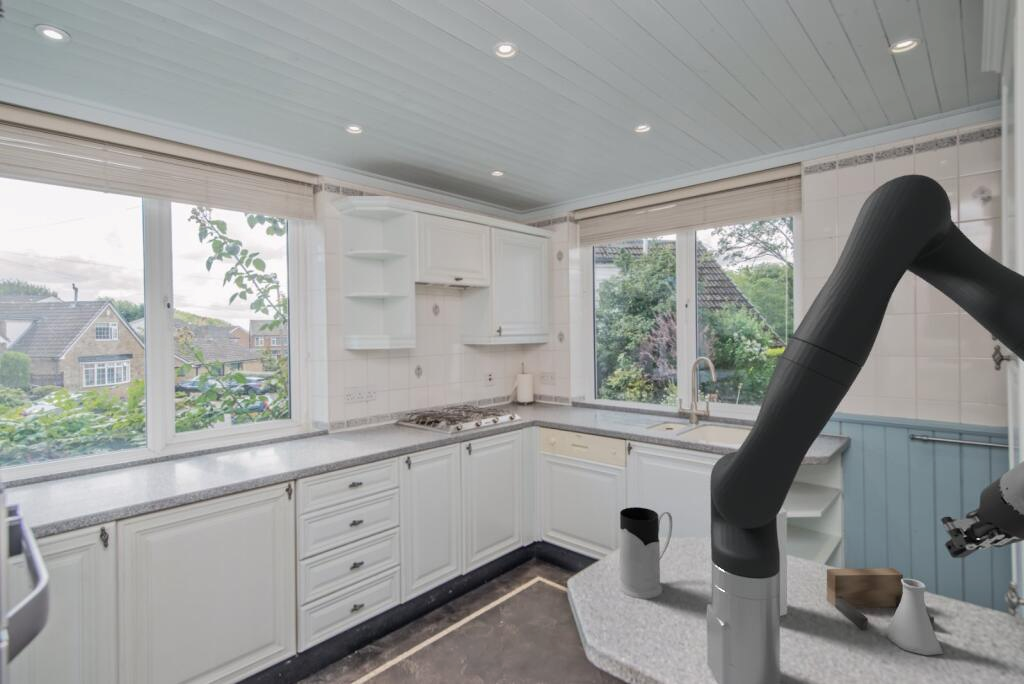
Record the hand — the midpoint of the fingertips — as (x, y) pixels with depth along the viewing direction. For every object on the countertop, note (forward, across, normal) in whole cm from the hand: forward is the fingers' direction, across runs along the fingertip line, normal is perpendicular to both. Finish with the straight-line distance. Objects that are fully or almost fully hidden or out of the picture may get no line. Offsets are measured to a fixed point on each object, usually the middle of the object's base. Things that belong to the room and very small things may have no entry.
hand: (953, 551), depth 75 cm
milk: (+26, +20, +1) cm, 32 cm away
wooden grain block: (+24, 0, +2) cm, 24 cm away
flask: (+19, 0, +8) cm, 20 cm away
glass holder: (+32, +38, -6) cm, 51 cm away
